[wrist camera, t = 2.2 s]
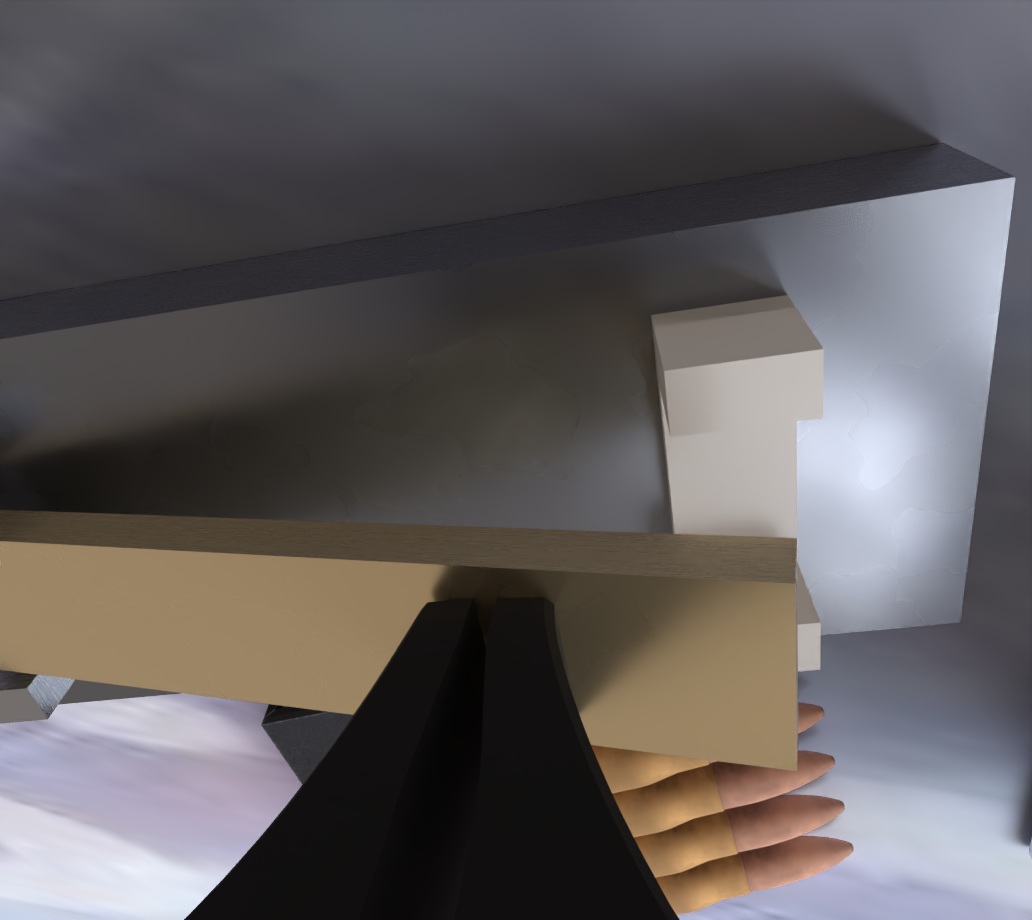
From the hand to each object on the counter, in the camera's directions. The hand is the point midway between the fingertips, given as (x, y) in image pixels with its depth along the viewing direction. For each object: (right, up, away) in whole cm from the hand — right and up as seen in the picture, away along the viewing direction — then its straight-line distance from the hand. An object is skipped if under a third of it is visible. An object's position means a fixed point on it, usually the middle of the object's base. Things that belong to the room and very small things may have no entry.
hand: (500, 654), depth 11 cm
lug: (+4, +2, +3) cm, 5 cm away
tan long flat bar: (-3, +1, +2) cm, 4 cm away
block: (-2, +3, +6) cm, 7 cm away
